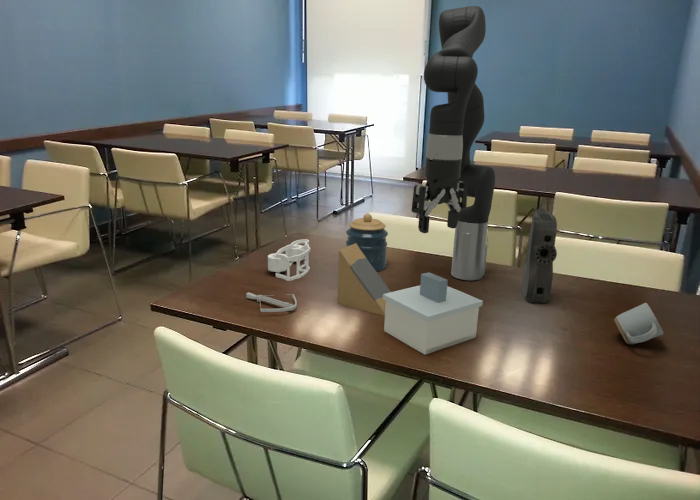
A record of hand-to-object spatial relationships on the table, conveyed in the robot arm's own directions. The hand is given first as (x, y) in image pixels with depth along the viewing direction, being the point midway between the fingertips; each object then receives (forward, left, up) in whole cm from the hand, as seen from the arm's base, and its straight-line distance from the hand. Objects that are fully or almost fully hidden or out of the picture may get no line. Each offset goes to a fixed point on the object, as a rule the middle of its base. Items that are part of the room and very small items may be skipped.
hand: (437, 230), depth 120 cm
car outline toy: (+4, -56, -26) cm, 62 cm away
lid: (0, 0, -17) cm, 17 cm away
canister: (-16, -46, -25) cm, 55 cm away
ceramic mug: (-36, +30, -25) cm, 53 cm away
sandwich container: (+1, -21, -26) cm, 33 cm away
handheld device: (-40, -2, -25) cm, 47 cm away
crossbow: (+23, -36, -26) cm, 50 cm away
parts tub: (0, 0, -25) cm, 25 cm away
